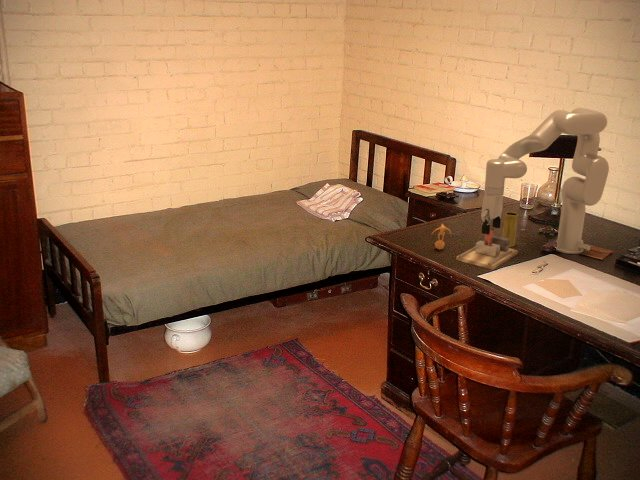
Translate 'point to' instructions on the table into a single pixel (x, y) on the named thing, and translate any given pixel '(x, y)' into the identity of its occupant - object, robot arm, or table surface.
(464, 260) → the nutcracker base
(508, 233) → the vase
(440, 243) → the figurine
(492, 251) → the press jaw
